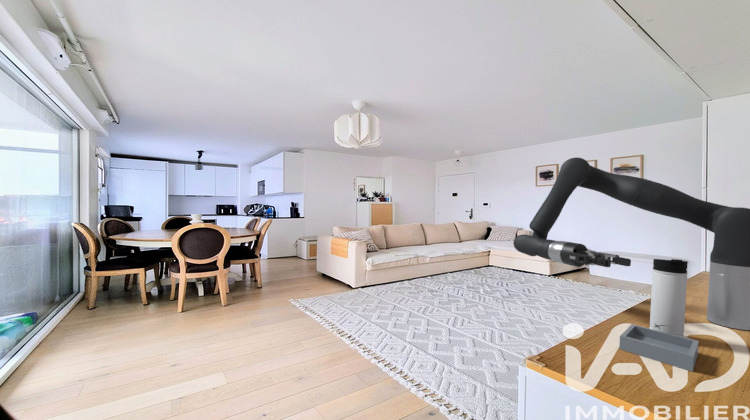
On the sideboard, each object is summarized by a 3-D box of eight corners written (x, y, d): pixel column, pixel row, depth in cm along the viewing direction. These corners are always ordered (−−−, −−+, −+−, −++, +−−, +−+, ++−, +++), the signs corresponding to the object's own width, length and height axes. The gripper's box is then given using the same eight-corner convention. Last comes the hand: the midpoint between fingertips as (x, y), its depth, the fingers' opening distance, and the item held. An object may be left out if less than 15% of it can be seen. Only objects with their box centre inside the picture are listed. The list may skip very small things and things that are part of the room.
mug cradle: (631, 335, 77) (631, 324, 77) (698, 354, 68) (698, 341, 68) (619, 348, 69) (620, 335, 69) (692, 371, 61) (693, 356, 60)
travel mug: (657, 339, 75) (661, 258, 74) (644, 329, 81) (648, 254, 81) (690, 344, 73) (695, 261, 72) (674, 333, 79) (678, 256, 79)
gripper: (552, 242, 100) (604, 250, 85) (583, 241, 105) (637, 249, 90) (550, 264, 100) (602, 277, 85) (581, 263, 105) (635, 275, 90)
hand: (620, 263), depth 87 cm, fingers open, 8 cm apart
